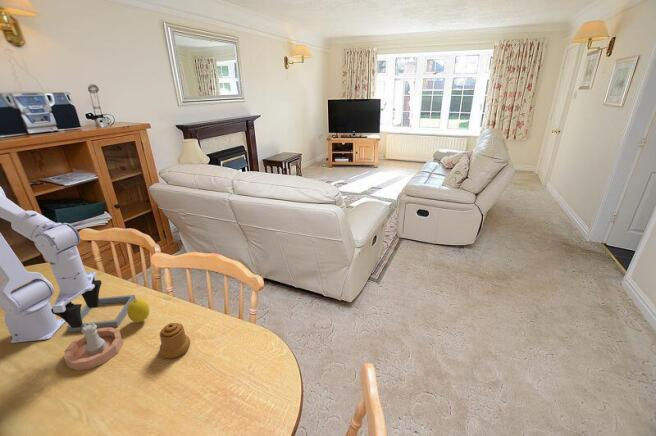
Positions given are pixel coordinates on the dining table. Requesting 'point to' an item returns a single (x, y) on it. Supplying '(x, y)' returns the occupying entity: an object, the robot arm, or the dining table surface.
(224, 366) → the dining table surface
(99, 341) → the rook chess piece
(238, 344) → the dining table surface
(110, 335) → the bowl
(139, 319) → the lemon
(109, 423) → the dining table surface
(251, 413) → the dining table surface
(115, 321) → the grey square frame
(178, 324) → the ornamental finial
